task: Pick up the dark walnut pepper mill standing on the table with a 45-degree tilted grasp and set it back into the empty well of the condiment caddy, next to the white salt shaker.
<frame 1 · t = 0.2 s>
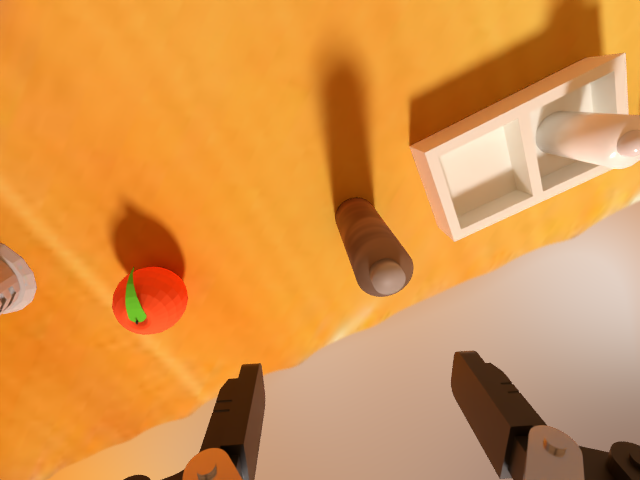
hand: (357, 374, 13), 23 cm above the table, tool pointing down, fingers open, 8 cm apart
pepper mill: (355, 217, 35), on the table
clementine: (163, 277, 36), on the table
salt shaker: (555, 132, 31), point 2 cm above the table, touching caddy
caddy: (504, 150, 33), on the table
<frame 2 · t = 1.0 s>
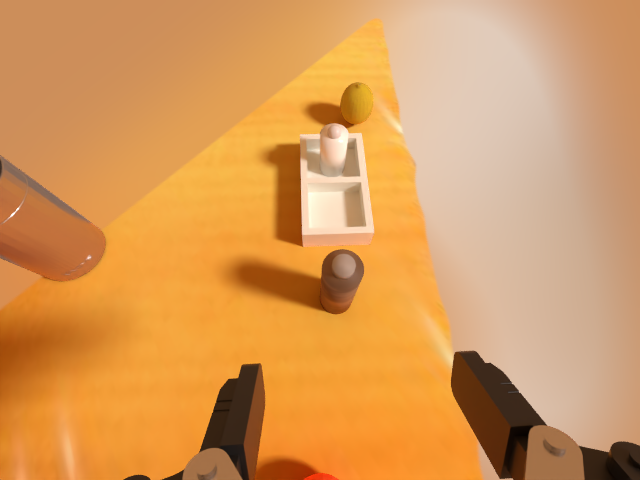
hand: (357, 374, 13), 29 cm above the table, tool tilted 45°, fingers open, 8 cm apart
lemon: (353, 123, 58), on the table
pepper mill: (335, 298, 44), on the table
salt shaker: (331, 167, 52), point 2 cm above the table, touching caddy
caddy: (332, 194, 51), on the table
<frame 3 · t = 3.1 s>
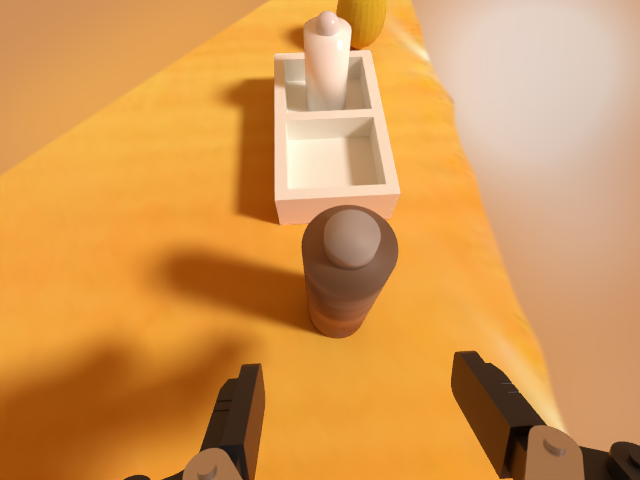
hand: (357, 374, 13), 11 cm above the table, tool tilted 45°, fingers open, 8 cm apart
lemon: (357, 50, 40), on the table
pepper mill: (336, 309, 25), on the table
salt shaker: (325, 104, 33), point 2 cm above the table, touching caddy
caddy: (328, 145, 33), on the table
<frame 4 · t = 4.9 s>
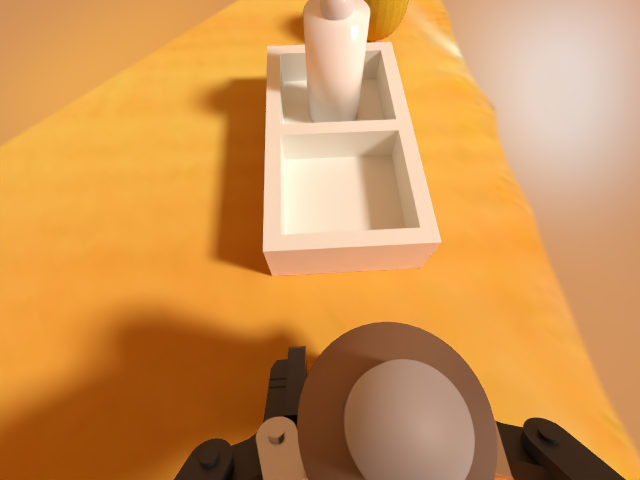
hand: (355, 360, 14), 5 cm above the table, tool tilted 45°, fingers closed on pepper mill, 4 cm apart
lemon: (371, 43, 32), on the table
pepper mill: (349, 406, 18), on the table, touching gripper
salt shaker: (333, 111, 26), point 2 cm above the table, touching caddy
caddy: (336, 165, 25), on the table
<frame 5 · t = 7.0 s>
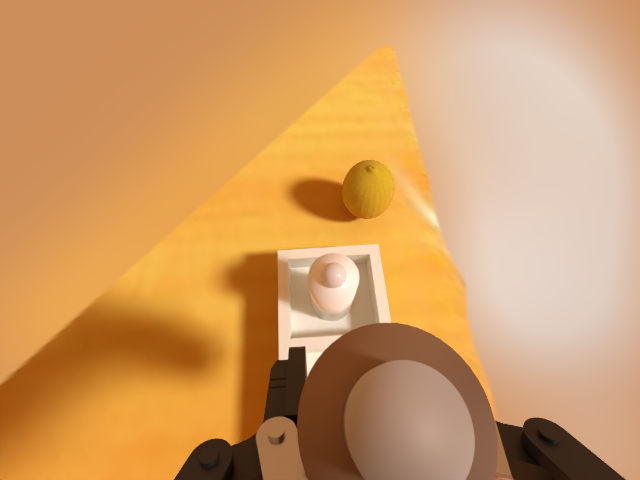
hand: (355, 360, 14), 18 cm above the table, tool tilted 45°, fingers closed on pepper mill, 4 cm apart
lemon: (362, 211, 38), on the table
pepper mill: (349, 406, 18), point 13 cm above the table, touching gripper
salt shaker: (331, 301, 32), point 2 cm above the table, touching caddy
caddy: (334, 347, 31), on the table
when the fingers open (8 cm above the table, at t = 9.3 s): pepper mill drops 1 cm, resting on caddy.
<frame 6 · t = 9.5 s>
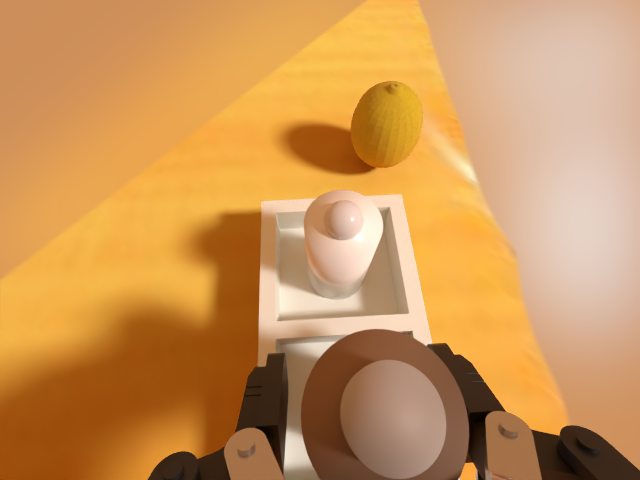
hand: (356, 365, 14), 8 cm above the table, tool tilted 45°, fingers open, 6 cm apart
lemon: (376, 162, 29), on the table
pepper mill: (347, 407, 19), point 2 cm above the table, touching caddy
salt shaker: (335, 272, 23), point 2 cm above the table, touching caddy
caddy: (339, 337, 22), on the table
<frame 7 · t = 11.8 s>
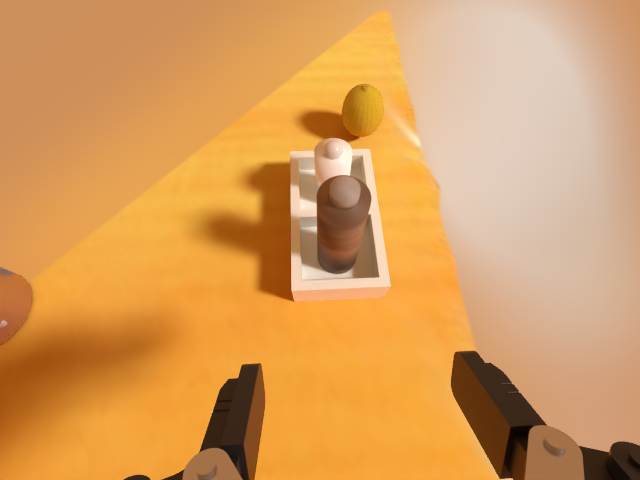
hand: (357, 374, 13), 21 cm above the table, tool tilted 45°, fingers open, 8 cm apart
lemon: (359, 135, 47), on the table
pepper mill: (336, 256, 36), point 2 cm above the table, touching caddy
salt shaker: (331, 193, 40), point 2 cm above the table, touching caddy
caddy: (333, 228, 40), on the table
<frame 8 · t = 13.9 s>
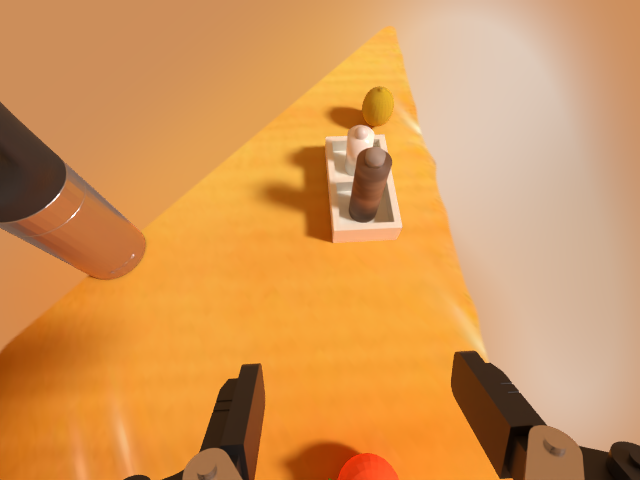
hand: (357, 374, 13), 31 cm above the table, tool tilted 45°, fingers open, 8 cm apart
lemon: (374, 125, 61), on the table
pepper mill: (362, 210, 51), point 2 cm above the table, touching caddy
salt shaker: (356, 167, 54), point 2 cm above the table, touching caddy
caddy: (358, 193, 54), on the table
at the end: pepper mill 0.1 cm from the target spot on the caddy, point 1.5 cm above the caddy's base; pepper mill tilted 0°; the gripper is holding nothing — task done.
